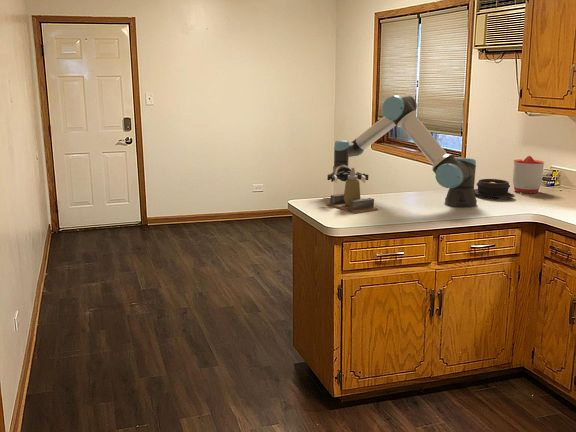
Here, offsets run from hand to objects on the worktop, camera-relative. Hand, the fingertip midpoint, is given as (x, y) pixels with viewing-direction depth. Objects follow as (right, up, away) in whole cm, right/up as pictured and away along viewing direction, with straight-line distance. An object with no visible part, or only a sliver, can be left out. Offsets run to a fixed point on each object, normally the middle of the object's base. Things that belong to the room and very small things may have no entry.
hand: (350, 180), depth 301 cm
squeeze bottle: (0, -12, -1) cm, 12 cm away
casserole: (+77, -7, +29) cm, 83 cm away
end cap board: (0, -13, -1) cm, 13 cm away
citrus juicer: (+101, -4, +44) cm, 110 cm away
